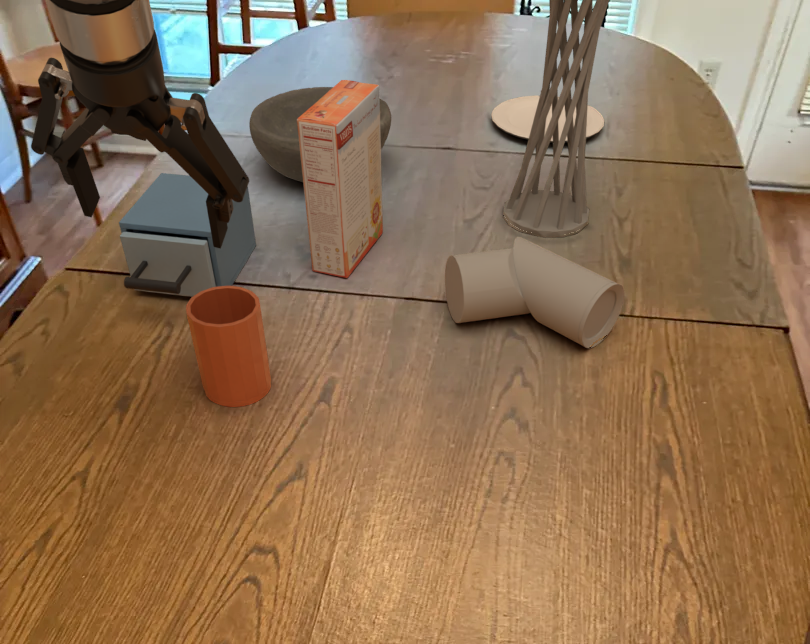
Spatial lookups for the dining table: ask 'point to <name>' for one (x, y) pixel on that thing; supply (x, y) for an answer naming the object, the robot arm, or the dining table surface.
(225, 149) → the robot arm
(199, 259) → the drawer
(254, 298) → the clay cup
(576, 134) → the vase
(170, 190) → the blue-grey drawer box
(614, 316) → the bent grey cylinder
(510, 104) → the plate
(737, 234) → the dining table surface
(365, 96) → the cracker box
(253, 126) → the bowl
